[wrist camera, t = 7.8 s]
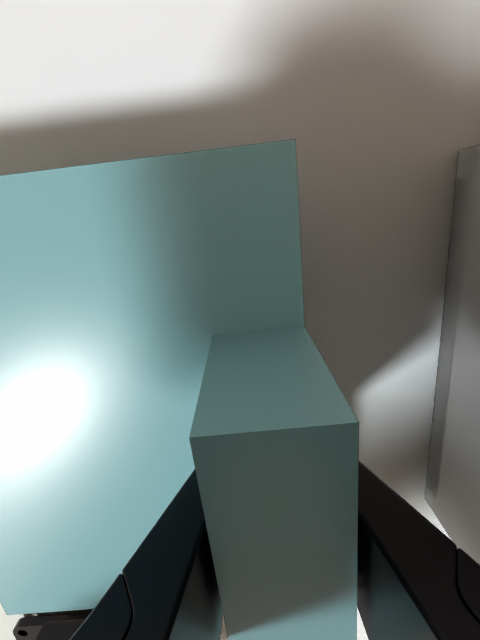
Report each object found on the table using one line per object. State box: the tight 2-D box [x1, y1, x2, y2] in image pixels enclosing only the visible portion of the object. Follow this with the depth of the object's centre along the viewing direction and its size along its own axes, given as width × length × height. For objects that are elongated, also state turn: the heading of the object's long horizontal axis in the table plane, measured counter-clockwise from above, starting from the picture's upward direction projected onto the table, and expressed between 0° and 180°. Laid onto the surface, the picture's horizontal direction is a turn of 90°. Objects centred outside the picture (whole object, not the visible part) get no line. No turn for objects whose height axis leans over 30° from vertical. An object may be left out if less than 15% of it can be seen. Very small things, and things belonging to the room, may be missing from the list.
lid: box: [0, 139, 359, 640], centre depth 8 cm, size 15×12×6 cm
